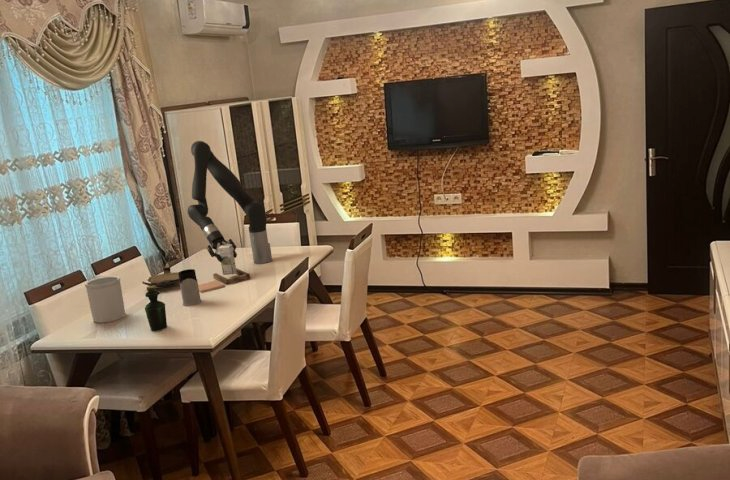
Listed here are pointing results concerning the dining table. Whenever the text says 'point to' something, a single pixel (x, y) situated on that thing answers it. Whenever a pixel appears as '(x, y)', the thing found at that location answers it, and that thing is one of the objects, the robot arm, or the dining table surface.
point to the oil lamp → (164, 278)
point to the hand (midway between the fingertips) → (228, 259)
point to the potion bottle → (155, 310)
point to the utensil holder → (105, 298)
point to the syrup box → (227, 259)
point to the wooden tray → (240, 277)
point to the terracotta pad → (210, 286)
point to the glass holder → (189, 287)
